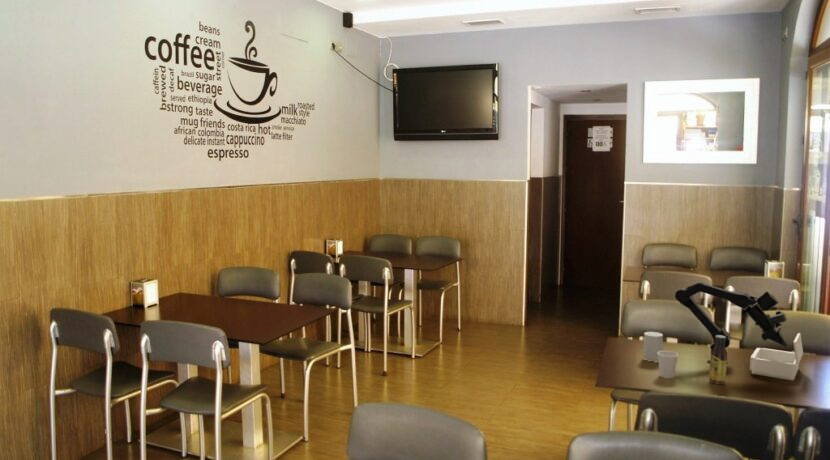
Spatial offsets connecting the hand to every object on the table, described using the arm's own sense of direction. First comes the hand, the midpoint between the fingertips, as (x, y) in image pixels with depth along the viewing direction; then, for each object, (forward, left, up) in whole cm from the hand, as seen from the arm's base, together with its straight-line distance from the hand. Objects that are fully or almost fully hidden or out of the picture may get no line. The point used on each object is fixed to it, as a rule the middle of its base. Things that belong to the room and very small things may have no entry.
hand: (786, 345), depth 293 cm
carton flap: (+1, -4, 0) cm, 4 cm away
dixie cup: (-45, +27, -12) cm, 54 cm away
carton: (-1, +3, -12) cm, 13 cm away
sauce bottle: (-35, +10, -12) cm, 39 cm away
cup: (-30, +45, -12) cm, 56 cm away
